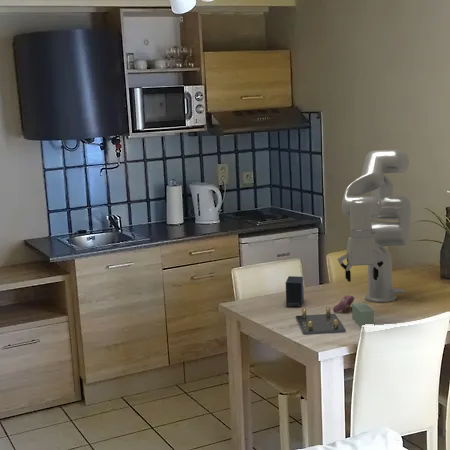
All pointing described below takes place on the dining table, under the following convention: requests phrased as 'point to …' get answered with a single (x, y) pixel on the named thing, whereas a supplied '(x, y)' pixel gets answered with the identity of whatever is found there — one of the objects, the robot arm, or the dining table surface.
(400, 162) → the robot arm
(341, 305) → the video game controller
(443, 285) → the dining table surface
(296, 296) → the small box
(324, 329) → the standoff plate
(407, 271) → the dining table surface
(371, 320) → the green board block
